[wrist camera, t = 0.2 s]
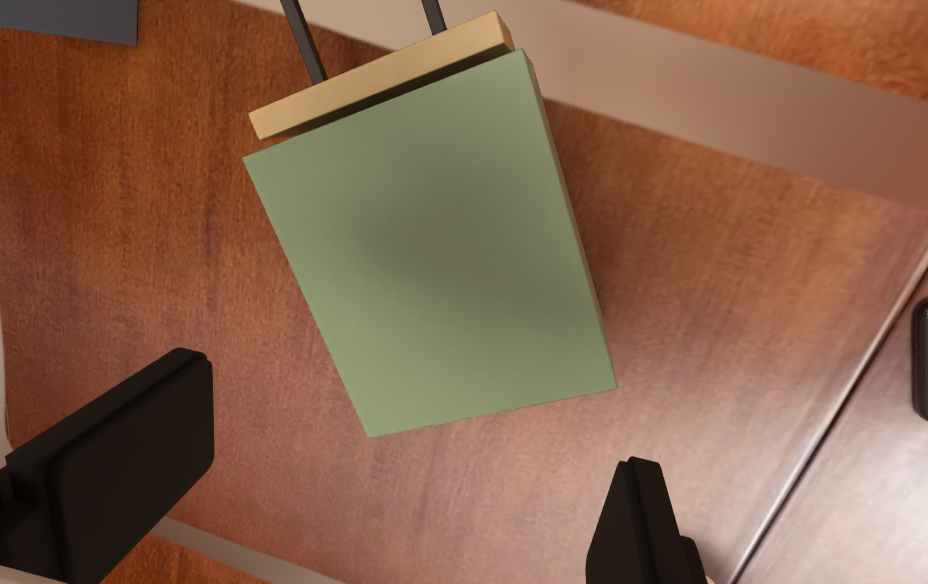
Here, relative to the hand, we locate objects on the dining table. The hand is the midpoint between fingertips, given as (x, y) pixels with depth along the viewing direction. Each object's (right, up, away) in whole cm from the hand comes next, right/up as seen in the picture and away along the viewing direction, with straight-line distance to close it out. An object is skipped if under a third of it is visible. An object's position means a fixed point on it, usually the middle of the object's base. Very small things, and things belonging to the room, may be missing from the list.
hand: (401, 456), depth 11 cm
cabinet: (+1, +7, +18) cm, 19 cm away
